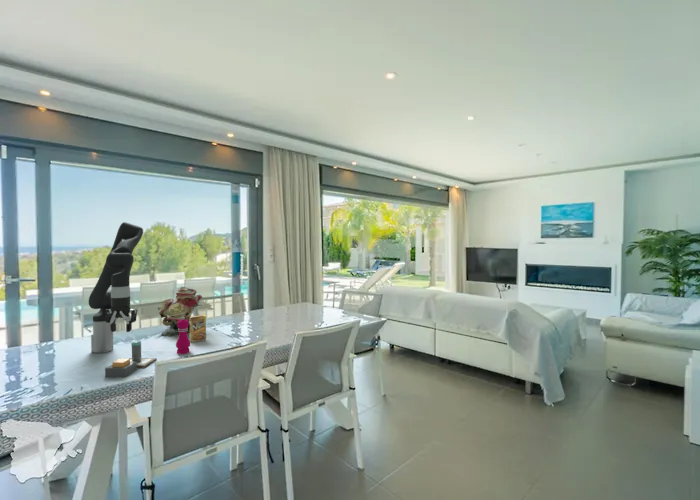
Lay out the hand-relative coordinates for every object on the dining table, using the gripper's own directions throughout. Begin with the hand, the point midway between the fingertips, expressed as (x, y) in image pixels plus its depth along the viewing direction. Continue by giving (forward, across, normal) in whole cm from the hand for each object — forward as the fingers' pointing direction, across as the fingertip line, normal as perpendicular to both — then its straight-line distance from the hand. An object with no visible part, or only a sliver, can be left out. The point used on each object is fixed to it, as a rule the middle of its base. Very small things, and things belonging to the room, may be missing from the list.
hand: (121, 331), depth 163 cm
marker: (+19, 0, -12) cm, 22 cm away
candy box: (+20, -14, -52) cm, 57 cm away
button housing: (+20, 0, 0) cm, 20 cm away
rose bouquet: (+20, +6, -73) cm, 76 cm away
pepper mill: (+20, -15, -30) cm, 39 cm away
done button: (+18, 0, 0) cm, 18 cm away
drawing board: (+20, 0, -12) cm, 23 cm away
